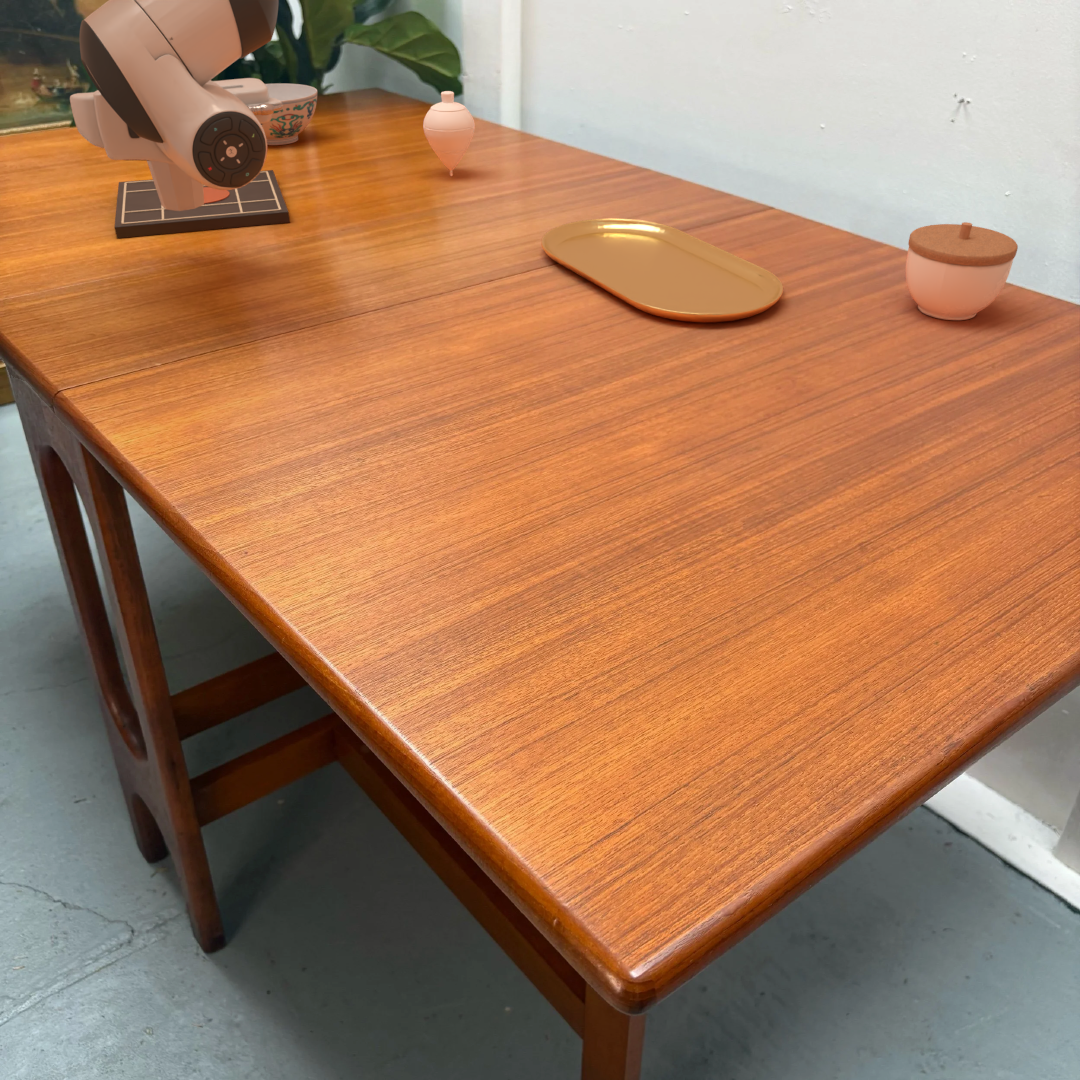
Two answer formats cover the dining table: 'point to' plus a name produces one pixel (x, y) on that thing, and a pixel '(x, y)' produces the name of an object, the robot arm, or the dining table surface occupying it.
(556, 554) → the dining table surface
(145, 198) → the grid board
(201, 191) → the faceted bottle
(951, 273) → the trinket box
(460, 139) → the spinning top
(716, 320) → the serving platter
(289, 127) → the chinaware
